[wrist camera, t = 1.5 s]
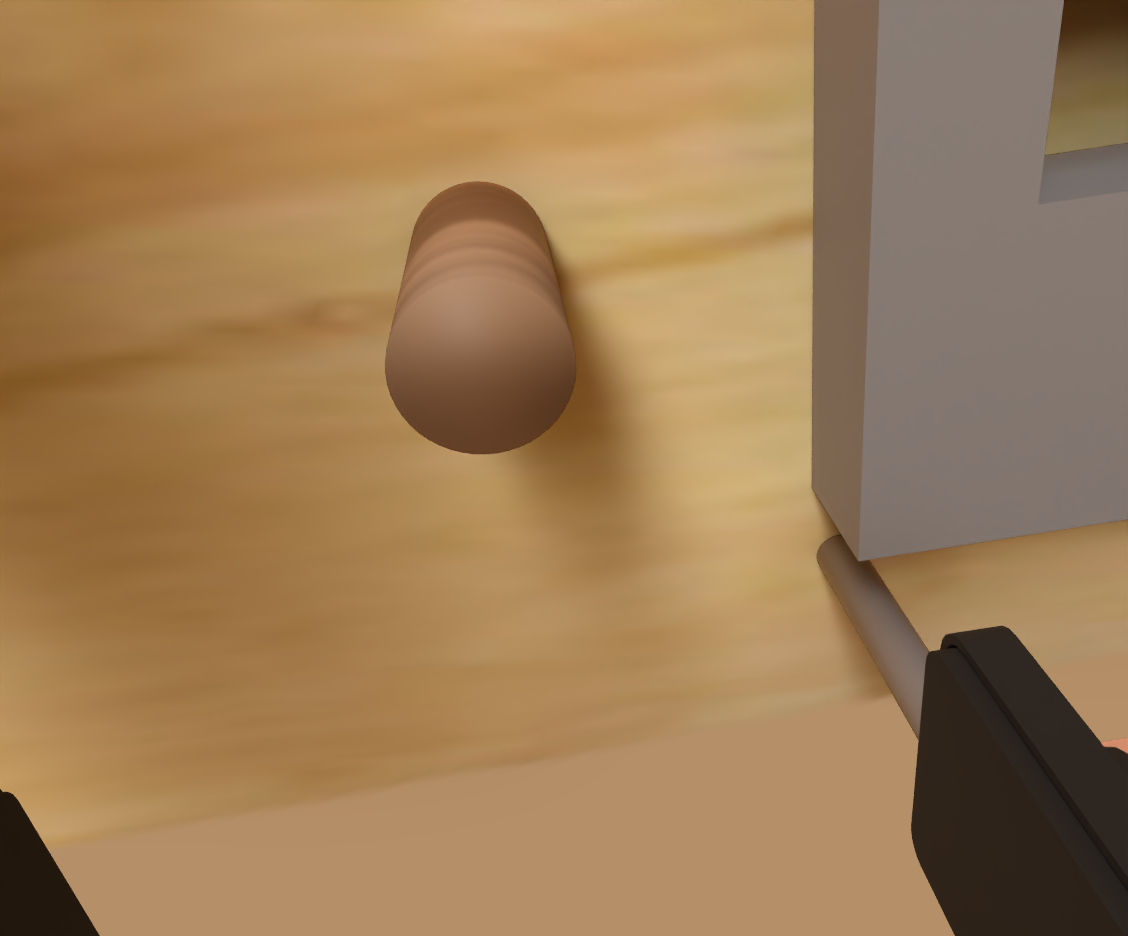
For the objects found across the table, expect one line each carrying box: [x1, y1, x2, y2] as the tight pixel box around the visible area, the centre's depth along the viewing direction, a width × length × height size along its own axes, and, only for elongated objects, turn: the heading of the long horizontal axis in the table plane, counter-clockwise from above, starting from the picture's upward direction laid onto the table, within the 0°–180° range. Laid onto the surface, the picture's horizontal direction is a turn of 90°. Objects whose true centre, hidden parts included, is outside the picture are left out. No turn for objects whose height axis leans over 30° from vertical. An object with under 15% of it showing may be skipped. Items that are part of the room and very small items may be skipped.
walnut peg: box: [385, 182, 576, 454], centre depth 23 cm, size 4×4×9 cm
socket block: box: [812, 0, 1128, 561], centre depth 25 cm, size 20×14×4 cm
